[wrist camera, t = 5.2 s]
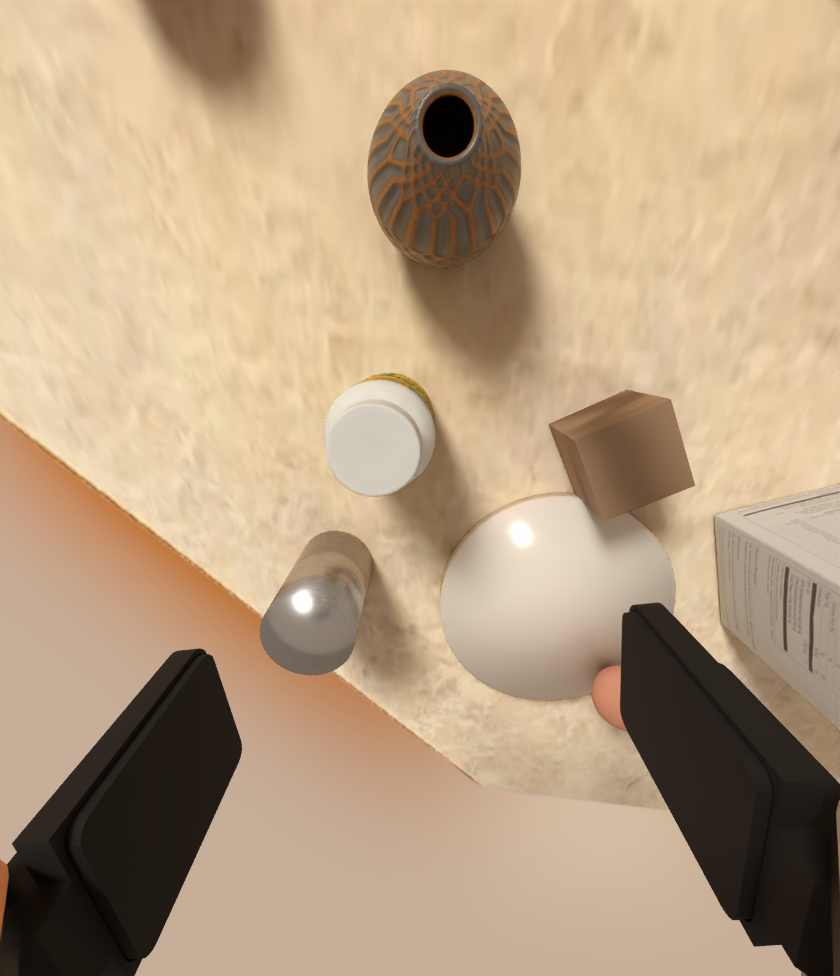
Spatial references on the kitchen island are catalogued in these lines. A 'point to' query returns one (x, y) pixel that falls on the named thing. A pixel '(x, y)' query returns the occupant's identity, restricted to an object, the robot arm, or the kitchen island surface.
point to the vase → (444, 168)
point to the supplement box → (786, 589)
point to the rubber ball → (608, 695)
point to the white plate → (548, 594)
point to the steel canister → (319, 605)
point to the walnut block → (623, 453)
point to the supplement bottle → (379, 434)
